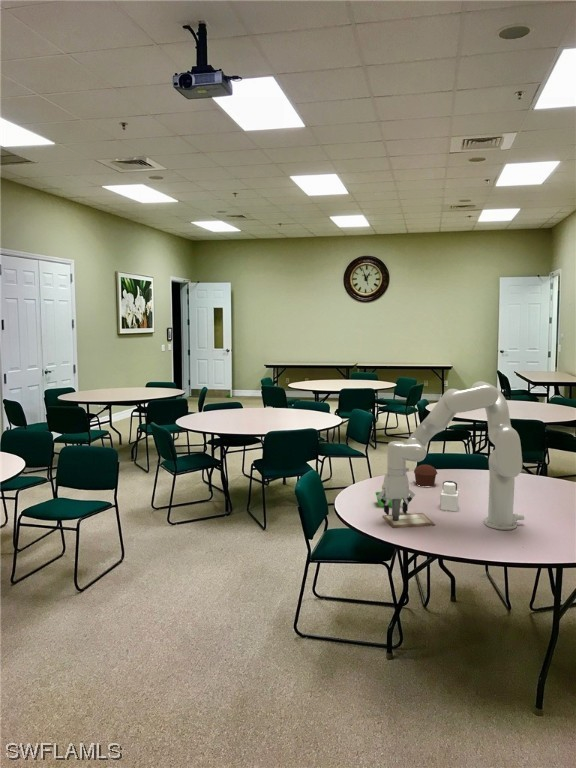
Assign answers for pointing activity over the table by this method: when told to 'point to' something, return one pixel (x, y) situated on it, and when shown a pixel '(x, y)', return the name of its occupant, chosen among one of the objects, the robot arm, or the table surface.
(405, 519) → the clipboard
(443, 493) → the white handled container
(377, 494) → the fruit basket
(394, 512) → the marker
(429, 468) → the muffin
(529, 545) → the table surface
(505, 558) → the table surface
